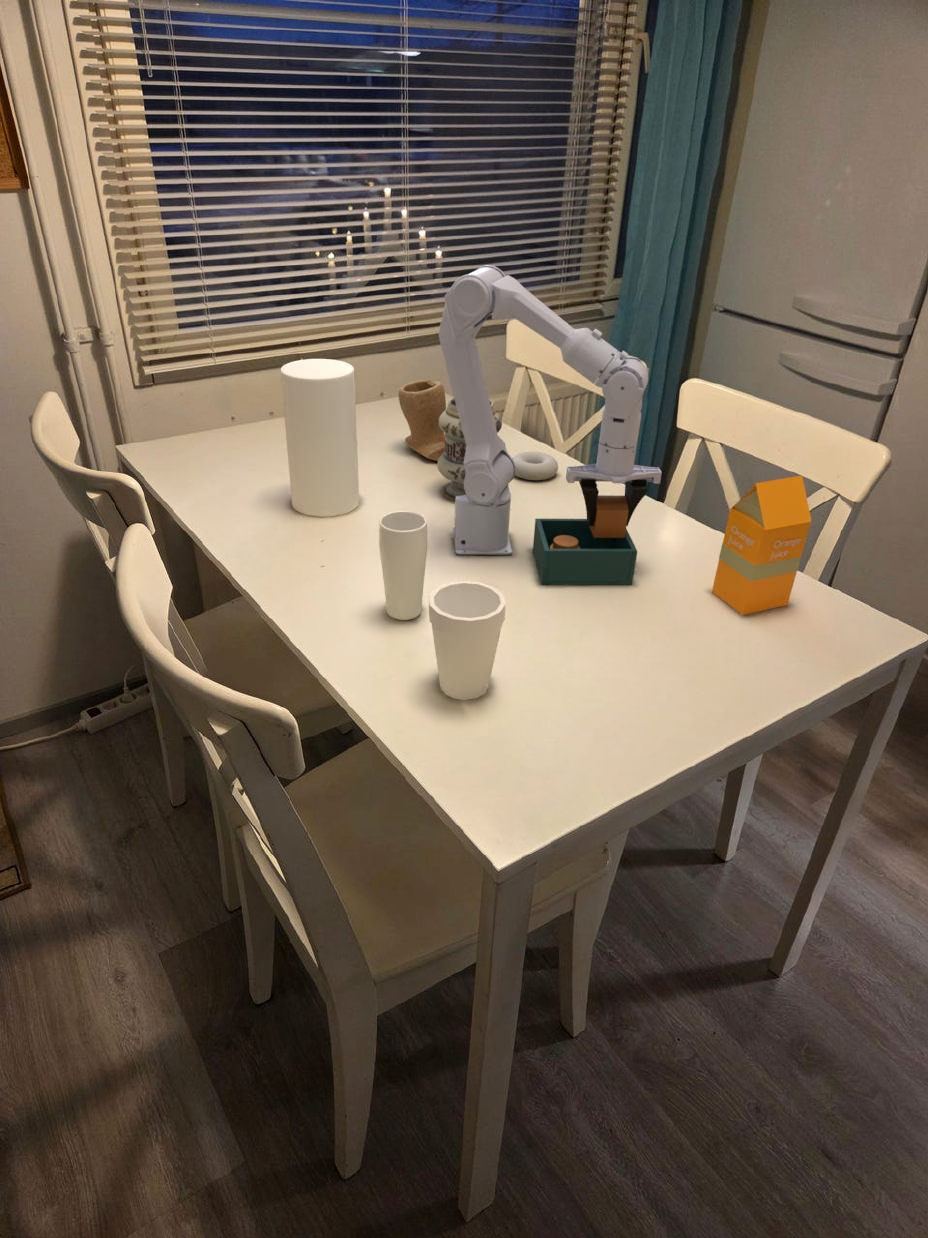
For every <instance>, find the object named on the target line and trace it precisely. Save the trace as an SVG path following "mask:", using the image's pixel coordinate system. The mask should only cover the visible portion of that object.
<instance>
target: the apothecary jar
mask: <svg viewBox="0 0 928 1238" xmlns="http://www.w3.org/2000/svg"><path fill="white" fill-rule="evenodd" d="M489 401H490V405H491V410H492V414H493V418H494V422H495V427H496V431H497V434H498V433H499V432H500V431H501V429H502V427H503V420H502V417H501V416H500V414H499V413H497V411H496V409H495V404H494V401H493V400H492V399H490V398H489ZM439 426H440V428H441V430H442V431H443V432H444V434H445V448H444V453H443V454H442V455H441V456H440V458H439V459H438V461H437V463H436V467H437V470H438V472H439V473H440V475H441V476H442V477H444V478H445V479H447V480H448V481H450V483H447V485H445V486H444V487H443V488H442V489H443V490H442V494H443V496H444V497H445V498H447V499H449V500H450V501H453V502H455V498H456V496H462V495H466V492H465V489H464V479H465V468H464V457H465V452H466V442H465V438H464V434H463V430H462V426H461V423H460V419H459V415H458V411H457V407H456V403H455V399H454V396H453V397H451V398H449V400H448V401H447V406H446V410H445V411H444V412H443V413H442V414H441V416H440V418H439Z"/></svg>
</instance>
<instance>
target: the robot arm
mask: <svg viewBox="0 0 928 1238" xmlns="http://www.w3.org/2000/svg"><path fill="white" fill-rule="evenodd" d="M490 316H491V320H511V319H515V320H517V321H518V322H520V323H521V324H522V325H524V326H526V327H527V328H529V329H530V330H531V331H533V332H535V333H536V334H537V335H539V336H540V337H543V338H544V339H545V340H547V341H548V342H550V343H551V344H553V345H554V346H556V347H557V348H559V349H560V352H561V357H562V362H563V363H565V364H566V365H568V367H570V368H571V369H572V370H574V371H576V372H577V373H578V374H580V375H581V376H582V377H583V378H585V379H586V380H587V381H589V382H590V383H592V384H594V386H596V387H598V388H601V392H602V395H603V398H604V406H603V407H604V408H603V410H602V415H601V424H600V430H599V431H600V432H599V439H598V447H597V454H596V463H590V464H583V465H573V466H566V473H565V479H566V482H567V484H574V483H575V482H578V483H579V486H580V489H581V493H582V495H583V500H584V505H585V511H586V512H585V513H586V519H587V522H588V525H589V526H593V524H594V517H595V506H596V501H597V497H598V495H599V489H598V484H597V482H607V483H608V482H611V483H612V484H624V496H626V497H627V501H628V510H629V512H628V519H627V525H626V527H628V526H629V524H630V521H631V519H632V516H633V514H634V512H635V510H636V508H637V507H638V505H639V503H640V502H641V501H642V500H643V499H644V497H645V496H646V495H647V494H648V491H649V486H648V485H647V483H652V484H655V485H656V484H658V485H659V484H661V479H662V473H663V472H662V470H661V469H660V467H659V466H658V467H655V466H645V465H638V464H635V461H636V455H637V454H636V453H637V447H638V441H639V440H638V439H639V433H640V427H641V421H642V408H643V395H644V391H645V389H646V388H647V386H648V383H649V371H648V369H647V367H646V365H645V364H644V363H643V362H642V361H641V359H640V358H639V357H637V356H631V355H630V356H629V353H628V352H626V351H625V350H622V352H621V351H619V350H618V349H617V348H615V346H613V345H611V344H610V343H609V342H607V341H606V340H605V339H603V338H602V336H603V332H602V331H600V330H599V329H597V328H594V329H593V331H592V330H591V329H590V328H588V327H582V328H574V327H572V326H571V325H570V324H569V323H567V321H565V320H564V319H563V318H562V317H560V316H559V315H558V314H557V313H556V312H554V311H553V310H552V309H551V308H549V306H547V305H546V304H544V303H543V302H542V301H541V300H540V299H538V298H537V297H536V296H534V294H533V293H531V292H530V291H529V290H528V289H527V288H525V287H524V286H523V285H522V284H521V283H520V282H519V281H518V280H517V279H516V278H515V277H512V276H511V275H509V274H507V275H506V274H505V273H504V272H503V271H502V269H500V268H499V267H496V266H494V265H489V264H487V265H482V266H480V267H478V268H476V269H475V270H474V271H472V272H469V273H468V274H463V275H462V276H460V277H458V278H457V279H455V281H454V282H453V284H452V285H451V287H450V288H449V290H448V291H447V292H446V293H445V295H444V308H443V313H442V316H441V321H440V324H439V329H438V339H439V343H440V347H441V351H442V356H443V359H444V362H445V363H444V364H445V367H446V371H447V375H448V379H449V383H450V387H451V391H452V394H453V397H454V399H455V403H456V407H457V411H458V415H459V419H460V423H461V426H462V430H463V434H464V438H465V442H466V452H465V457H464V468H465V479H464V489H465V492H466V495H462V496H456V498H455V501H454V526H453V527H452V538H453V539H454V547H455V548H454V549H455V554H456V555H498V556H499V555H505V556H507V555H508V556H509V555H512V554H513V549H512V545H511V541H510V535H509V530H510V516H511V515H510V514H511V500H512V493H511V491H510V488H509V484H511V482H512V481H513V480H514V478H515V477H516V475H515V473H516V466H515V462H514V460H513V456H511V455H510V454H509V452H508V450H507V446H506V442H505V441H504V440H503V439H502V438H501V437H500V436H499V435H498V433H497V431H496V427H495V422H494V418H493V414H492V410H491V405H490V401H489V399H490V397H489V393H488V389H487V384H486V380H485V375H484V372H483V367H482V364H481V363H482V362H481V359H480V355H479V350H478V346H477V342H476V336H477V334H478V333H479V331H480V330H481V328H482V327H483V325H484V324H485V322H486V320H487V319H488V318H489V317H490Z"/></svg>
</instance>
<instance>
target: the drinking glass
mask: <svg viewBox="0 0 928 1238" xmlns="http://www.w3.org/2000/svg"><path fill="white" fill-rule="evenodd" d="M378 542H379V543H378V546H379V555H380V563H381V571H382V580H383V587H384V595H385V611H386V613H387V615H388V616H389V617H390V618H392V619H394V620H397V621H409V620H413V619H416V618H418V617H419V615H421V614H422V611H423V594H424V582H425V576H426V575H425V574H426V573H425V572H426V563H427V555H428V521H427V518H425V516H424V515H422V514H420V513H418V512H414V511H408V510H407V511H406V510H401V511H400V510H398V511H393V512H389V513H386V514H384V515H382V516H381V517H380V519H379V524H378Z"/></svg>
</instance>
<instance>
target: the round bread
mask: <svg viewBox="0 0 928 1238" xmlns="http://www.w3.org/2000/svg"><path fill="white" fill-rule="evenodd" d="M550 549H580V547H579V546H578V540H577V539H576V538H575V537H572V536H568V535H560V536H557V537H555V538H554V541H553V544H551V546H550Z"/></svg>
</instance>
